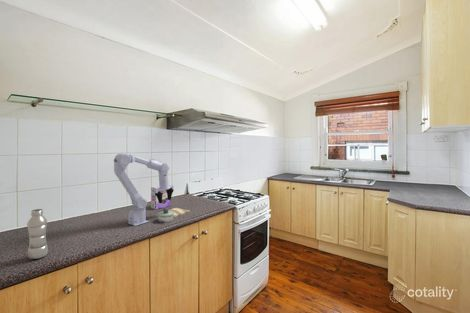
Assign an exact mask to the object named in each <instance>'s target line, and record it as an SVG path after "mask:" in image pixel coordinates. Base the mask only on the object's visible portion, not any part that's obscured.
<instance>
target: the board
mask: <svg viewBox="0 0 470 313" xmlns="http://www.w3.org/2000/svg"><path fill="white" fill-rule="evenodd" d="M168 211H173V212H174V214H173V218H175V217H179V216H181V215H184V214H188V213H190V212H191V211H190V210H188V209H184V208H180V207H174V208H171V209H170V208H169V209H168Z"/></svg>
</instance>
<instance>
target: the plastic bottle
mask: <svg viewBox="0 0 470 313" xmlns="http://www.w3.org/2000/svg"><path fill="white" fill-rule="evenodd" d="M43 214H44V211H43V208H36V209H32V210H31V211H30V215H31V217H30V218H29V220H28V221H27V223H26V225H27V232H28V237H29V238H28V240H29V241H28V242H29V243H28V249H27V255H28V258H29V259H30V260H37V259H41V258H43V257H45V256H47V254H48V253H49V247H48V242H47V226H48V220H47V217H45V216H44V215H43Z"/></svg>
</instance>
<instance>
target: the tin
mask: <svg viewBox="0 0 470 313" xmlns="http://www.w3.org/2000/svg"><path fill="white" fill-rule="evenodd" d="M157 217H158V222H159V223H161V224H167V223H172V222H173V221H174V217H173V215H172V216H168V217H160V216H158V215H157Z"/></svg>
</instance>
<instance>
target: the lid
mask: <svg viewBox="0 0 470 313" xmlns="http://www.w3.org/2000/svg"><path fill="white" fill-rule="evenodd" d="M162 209H163V210H162V211H160V212H158V213H157V217H158V216H160V217H168V216H172V215H173V214H174V212H173V211H168V210H169V207H165V208H162Z"/></svg>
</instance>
